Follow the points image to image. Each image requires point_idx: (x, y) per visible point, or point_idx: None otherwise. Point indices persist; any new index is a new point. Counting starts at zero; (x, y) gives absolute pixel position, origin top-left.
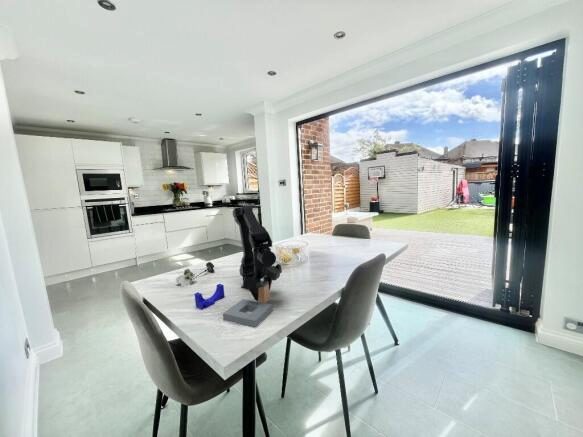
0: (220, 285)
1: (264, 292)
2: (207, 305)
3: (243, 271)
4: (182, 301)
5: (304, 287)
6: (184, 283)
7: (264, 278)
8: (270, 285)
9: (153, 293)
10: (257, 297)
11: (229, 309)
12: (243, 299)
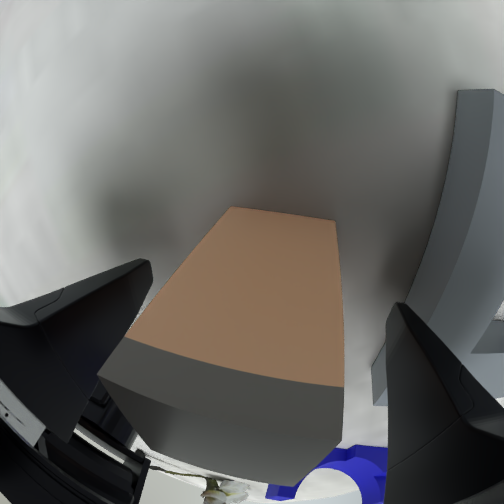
0: (284, 498)
1: (327, 299)
2: (384, 454)
3: (136, 491)
4: (337, 479)
5: (10, 62)
6: (239, 488)
7: (75, 401)
8: (92, 282)
9: (299, 498)
10: (430, 329)
11: (495, 395)
12: (381, 400)
